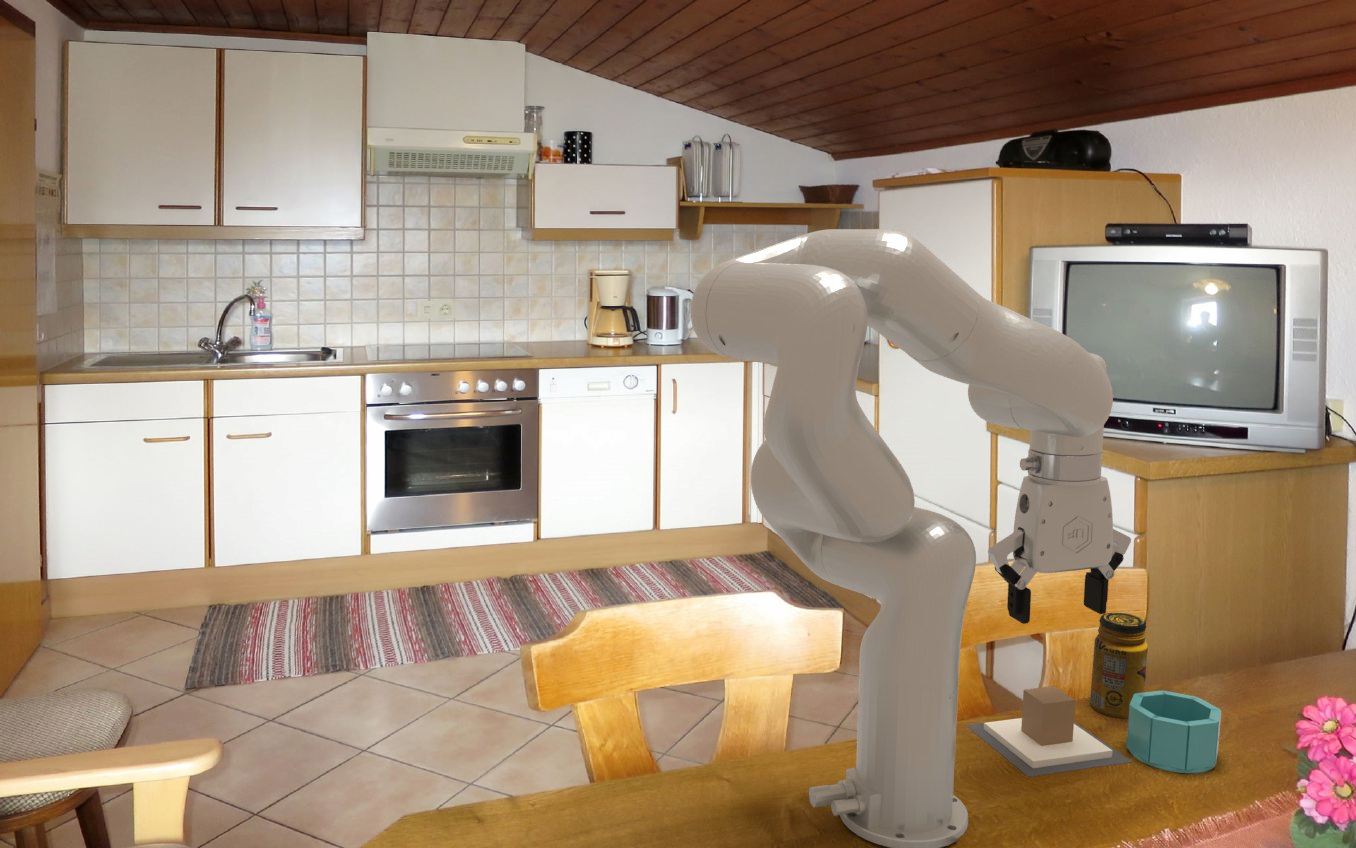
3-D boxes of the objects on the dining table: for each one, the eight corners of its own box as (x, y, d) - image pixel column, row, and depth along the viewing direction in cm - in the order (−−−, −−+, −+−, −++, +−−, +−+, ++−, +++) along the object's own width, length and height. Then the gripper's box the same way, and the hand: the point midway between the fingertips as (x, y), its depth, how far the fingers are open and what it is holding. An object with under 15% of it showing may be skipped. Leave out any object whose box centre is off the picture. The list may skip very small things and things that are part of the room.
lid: (1032, 768, 120) (1035, 718, 119) (983, 729, 129) (986, 682, 128) (1112, 757, 123) (1115, 708, 122) (1058, 719, 132) (1061, 673, 131)
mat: (1028, 781, 118) (1028, 776, 118) (965, 729, 131) (965, 725, 130) (1132, 766, 122) (1132, 761, 122) (1061, 717, 134) (1061, 713, 134)
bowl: (1164, 781, 118) (1168, 728, 117) (1110, 745, 127) (1114, 696, 126) (1234, 772, 120) (1239, 719, 120) (1177, 737, 129) (1181, 688, 128)
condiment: (1158, 716, 135) (1165, 621, 133) (1114, 733, 130) (1122, 635, 128) (1105, 695, 141) (1112, 604, 139) (1062, 710, 136) (1069, 617, 134)
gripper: (1013, 479, 115) (1007, 635, 118) (1155, 467, 119) (1145, 618, 123) (975, 464, 122) (970, 612, 125) (1110, 453, 127) (1102, 596, 130)
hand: (1057, 614), depth 124 cm, fingers open, 9 cm apart
